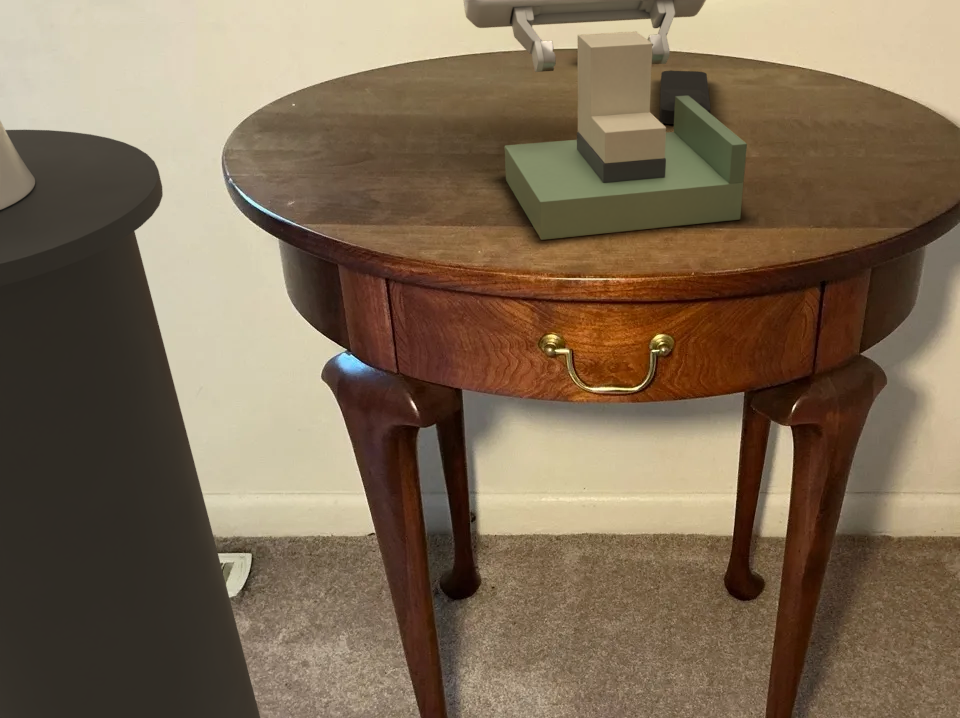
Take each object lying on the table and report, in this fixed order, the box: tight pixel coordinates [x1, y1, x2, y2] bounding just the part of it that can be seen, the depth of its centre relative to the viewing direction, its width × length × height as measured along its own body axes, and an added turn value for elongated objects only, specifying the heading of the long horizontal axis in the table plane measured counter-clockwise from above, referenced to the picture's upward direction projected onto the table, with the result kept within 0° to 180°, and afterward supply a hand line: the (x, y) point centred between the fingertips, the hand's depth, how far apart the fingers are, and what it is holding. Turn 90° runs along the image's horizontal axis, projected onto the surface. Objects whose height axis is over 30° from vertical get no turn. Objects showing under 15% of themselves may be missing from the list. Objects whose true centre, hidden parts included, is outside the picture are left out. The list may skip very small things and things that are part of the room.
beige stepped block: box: [576, 30, 667, 183], centre depth 81 cm, size 8×5×9 cm, turn 16°
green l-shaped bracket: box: [504, 96, 748, 241], centre depth 84 cm, size 16×13×6 cm
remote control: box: [659, 70, 711, 125], centre depth 107 cm, size 5×2×15 cm
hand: (603, 64), depth 84 cm, fingers open, 8 cm apart
